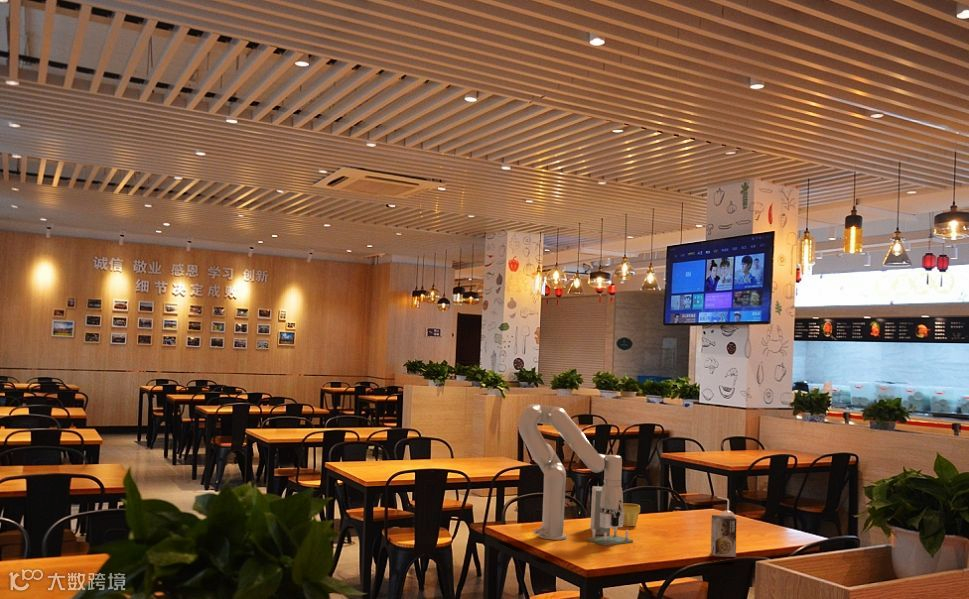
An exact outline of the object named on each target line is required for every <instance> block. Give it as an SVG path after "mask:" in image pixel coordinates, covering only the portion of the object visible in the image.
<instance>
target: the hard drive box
mask: <svg viewBox="0 0 969 599" xmlns="http://www.w3.org/2000/svg"><path fill="white" fill-rule="evenodd" d="M602 487H603V486H595V485H593V486H592V488H591V505H590V506H591V509H590V530H591V532H592V533H593V529H595V536H596V535H600V536H604V533H607V536H611V535H610V534H611V528H603V527H600V513H603V511H602V509H601V507H600V500H601V492H602ZM607 511H608V510H607ZM610 512H612V510H610Z"/></svg>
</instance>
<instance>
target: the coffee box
mask: <svg viewBox="0 0 969 599" xmlns="http://www.w3.org/2000/svg"><path fill="white" fill-rule="evenodd" d="M736 518H737V517H736V516H735V517H733V516H724V515H720V514H712V515H711V527H710V528H711V529H710V530H711V532H710V533H711V534H710V535H711V536H710V553H711V555H712V556H714V557H727V558H729V557H730V558H731V557H732V558H735V557H737V521H738V518H737V519H736Z"/></svg>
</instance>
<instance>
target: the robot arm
mask: <svg viewBox="0 0 969 599" xmlns="http://www.w3.org/2000/svg"><path fill="white" fill-rule="evenodd" d="M517 424H518V432H519V434H520V437H521V439H522V441H523V442H524V444H525V446H526V447H527V450H528V451H529V453H530V455H531V457H532V459H533V461H534V462H535V464H537V465H538V466H539V468H540V470H541V472H542V473H543V498H542V518H541V519H542V522H541V525H540V526H539V528H534V529H533V532H532V533H533V534H535V535H537V536H538V538H541V539H545V540H553V541H556V540H557V541H559V540H560V541H561V540H565V539H567V537H568V536H567V534H565V533H564V524H565V504H566V503H565V502H566V498H565V497H566V481H567V471H566V468H565V466H564V465H563V463H562V462H561V460H560V458H559V457H558V455H557V453H556V451H555V450H554V449H553V446H552V445H550V444H549V443H547V441H546V439H545V438H544V436H543V435H542V433H541V431H540V429H539V426H538V424H542V425H551V426H552V428H554V429H555V431H556V432H557V433H558V434H559V435H560V437H561V438H562V439H563V440H564V442H566V444H567V445H568V446H569V448H571V450H572V451H573V452H574V453H575V454H576V455H577V456H578V457H579V459H580V460H581V462H583V464H584V465H585V466H586V468H587V469H589V470H590V471H591V472H593V473H596V474H597V473H601V472H602V471H604V473H603V474H604V477H603V478H604V479H603V485H602V486H601V487H602V492H601V500H600V507H601V509H602V511H603V512H610V510H611V512H613V514H614V517H613V523H612V526H613V527H616V526H619V517H620V515H621V514H622V513H623V512H624V509H623V504H624V494H623V488H622V474H623V473H622V472H623V471H622V470H623V469H622V468H623V467H622V466H623V459H622V456H621V455H619V454H618V455H617V454H603V453H598V451H597V450H596V448H594V447H593V445H592V444H591V443H590V441H589V440H588V439H587V437H586V435H585V433H584V432H583V430H581V428H580V427H578V424H576V423H575V422H574V421H573V419H572V418H571V417H570V415H568V413H567V411H566V410H565V409H564V408H563V407H561V406H560V407H559V406H550V405H543V404H537V403H536V404H535V403H532V404H528V405H527V406H526V407H525V408H524V409H523V410H522V412H521V414H520V416H519V419H518V422H517ZM607 510H608V511H607ZM619 510H620V511H619ZM616 512H617V513H616Z"/></svg>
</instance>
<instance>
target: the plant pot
mask: <svg viewBox="0 0 969 599" xmlns="http://www.w3.org/2000/svg"><path fill="white" fill-rule="evenodd" d="M623 509H624V512H623V513H624V520H623V525H624V526H623V527H629V526H634V527H636V526H637V522H638V519H639V514H640V513H641V506H640V504H636V503H624V502H623ZM619 511H620V510H619Z"/></svg>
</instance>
